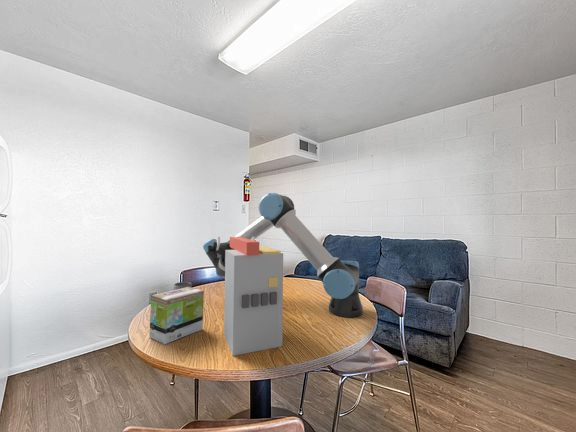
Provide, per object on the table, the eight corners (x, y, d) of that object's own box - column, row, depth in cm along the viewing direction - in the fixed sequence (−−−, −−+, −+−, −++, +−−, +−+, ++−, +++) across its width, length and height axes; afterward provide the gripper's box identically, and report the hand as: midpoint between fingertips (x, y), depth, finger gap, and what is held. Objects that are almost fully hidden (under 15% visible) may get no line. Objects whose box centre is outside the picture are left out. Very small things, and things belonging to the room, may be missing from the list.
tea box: (166, 345, 83) (167, 299, 83) (148, 338, 88) (149, 294, 88) (203, 329, 95) (204, 289, 96) (186, 323, 101) (187, 285, 101)
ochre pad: (249, 249, 96) (249, 247, 96) (265, 248, 98) (265, 246, 98) (262, 254, 81) (262, 251, 81) (280, 253, 83) (280, 251, 83)
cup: (195, 305, 122) (195, 284, 122) (173, 309, 117) (174, 287, 117) (190, 300, 130) (190, 280, 130) (170, 303, 124) (170, 282, 125)
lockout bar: (229, 246, 104) (229, 236, 104) (239, 246, 105) (239, 236, 105) (246, 255, 78) (246, 242, 78) (259, 255, 79) (259, 242, 80)
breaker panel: (224, 334, 91) (225, 250, 92) (266, 327, 98) (267, 248, 98) (233, 357, 76) (235, 256, 76) (283, 347, 82) (284, 253, 83)
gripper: (255, 266, 120) (268, 247, 103) (199, 270, 110) (203, 249, 93) (253, 251, 123) (266, 230, 106) (199, 253, 113) (203, 231, 97)
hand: (236, 239), depth 100 cm, fingers open, 13 cm apart
